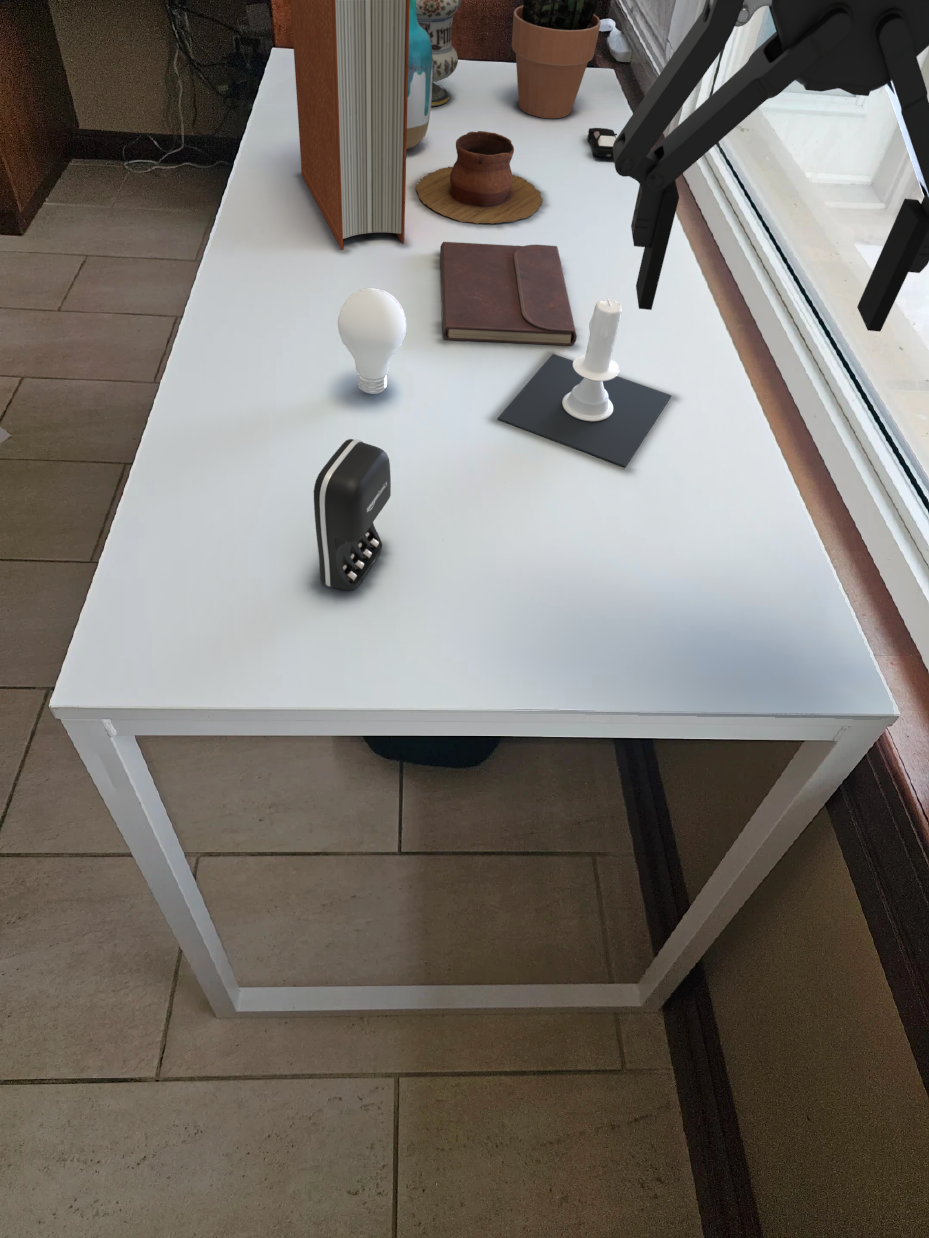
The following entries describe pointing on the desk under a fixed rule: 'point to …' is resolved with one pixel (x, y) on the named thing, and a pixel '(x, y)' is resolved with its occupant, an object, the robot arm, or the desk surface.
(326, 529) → the battery charger
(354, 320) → the light bulb
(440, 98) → the apothecary jar
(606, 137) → the toy car
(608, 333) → the candle
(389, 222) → the book
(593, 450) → the mat
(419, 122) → the vase
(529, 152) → the desk surface
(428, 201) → the ceramic pot
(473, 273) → the notebook
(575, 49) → the potted plant
